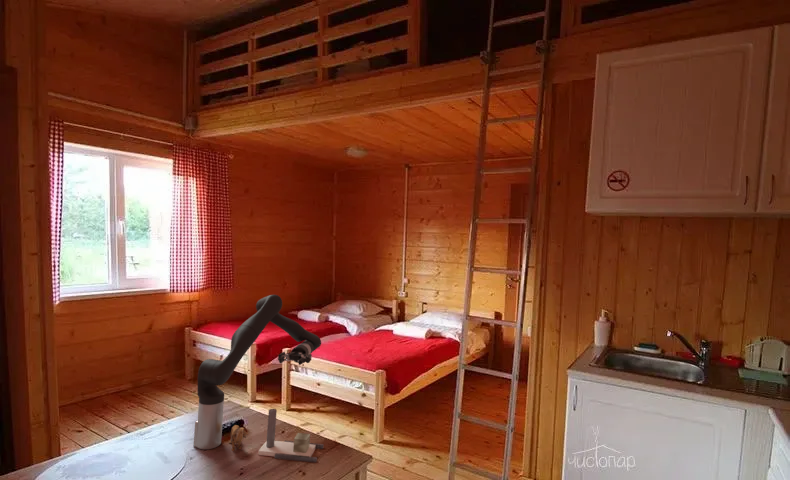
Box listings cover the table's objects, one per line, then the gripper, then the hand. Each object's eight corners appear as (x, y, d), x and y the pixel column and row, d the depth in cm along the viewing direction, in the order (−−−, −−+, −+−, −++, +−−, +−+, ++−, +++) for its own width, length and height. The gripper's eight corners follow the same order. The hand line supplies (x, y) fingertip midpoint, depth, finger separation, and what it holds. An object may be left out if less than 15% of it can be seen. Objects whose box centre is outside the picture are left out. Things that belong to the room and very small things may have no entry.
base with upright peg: (258, 454, 159) (260, 414, 160) (266, 443, 168) (269, 405, 169) (309, 459, 158) (312, 418, 158) (315, 448, 167) (318, 409, 167)
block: (293, 451, 161) (294, 438, 161) (297, 445, 166) (297, 432, 166) (305, 452, 160) (306, 439, 160) (309, 446, 165) (310, 434, 165)
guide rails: (274, 458, 158) (274, 454, 158) (284, 444, 169) (284, 440, 169) (316, 463, 157) (316, 458, 157) (323, 448, 168) (323, 444, 168)
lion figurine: (248, 451, 162) (249, 428, 162) (233, 455, 158) (235, 431, 159) (236, 436, 173) (238, 414, 174) (223, 439, 170) (225, 417, 170)
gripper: (287, 343, 199) (274, 351, 183) (316, 345, 198) (306, 354, 181) (286, 359, 199) (273, 368, 182) (315, 361, 197) (305, 371, 181)
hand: (289, 361), depth 182 cm, fingers open, 8 cm apart
